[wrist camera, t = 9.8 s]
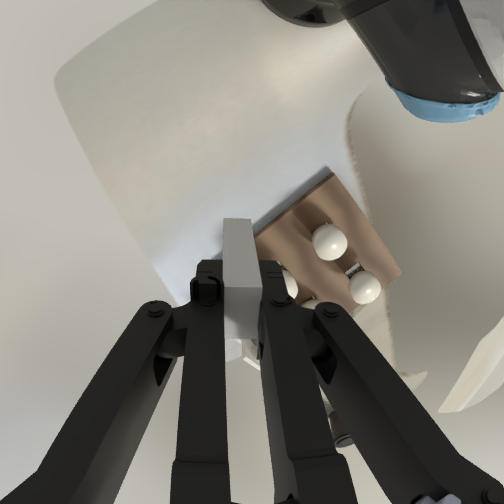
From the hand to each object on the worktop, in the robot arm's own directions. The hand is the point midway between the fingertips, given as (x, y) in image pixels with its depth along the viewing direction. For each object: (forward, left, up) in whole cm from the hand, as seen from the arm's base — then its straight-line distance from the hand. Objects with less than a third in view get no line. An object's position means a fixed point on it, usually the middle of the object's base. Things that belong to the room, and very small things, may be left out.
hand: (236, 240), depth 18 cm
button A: (-2, +20, -29) cm, 35 cm away
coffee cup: (+25, +70, -30) cm, 80 cm away
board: (+3, +25, -29) cm, 39 cm away
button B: (-2, +30, -27) cm, 40 cm away
